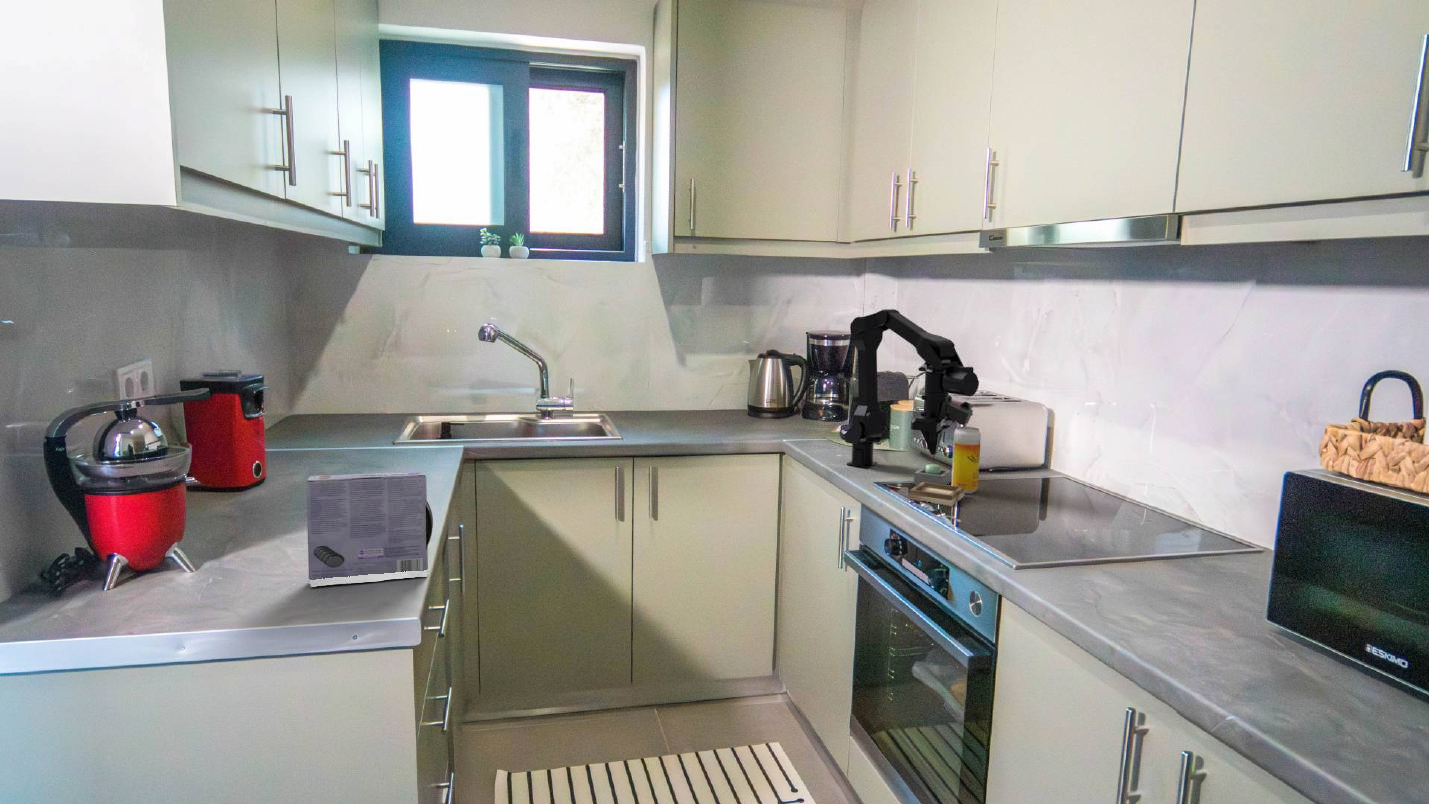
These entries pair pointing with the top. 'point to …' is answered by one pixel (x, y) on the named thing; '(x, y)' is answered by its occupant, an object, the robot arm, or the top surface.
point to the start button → (933, 469)
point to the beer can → (966, 458)
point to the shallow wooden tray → (936, 493)
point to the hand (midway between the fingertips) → (933, 454)
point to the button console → (932, 477)
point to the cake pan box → (367, 524)
